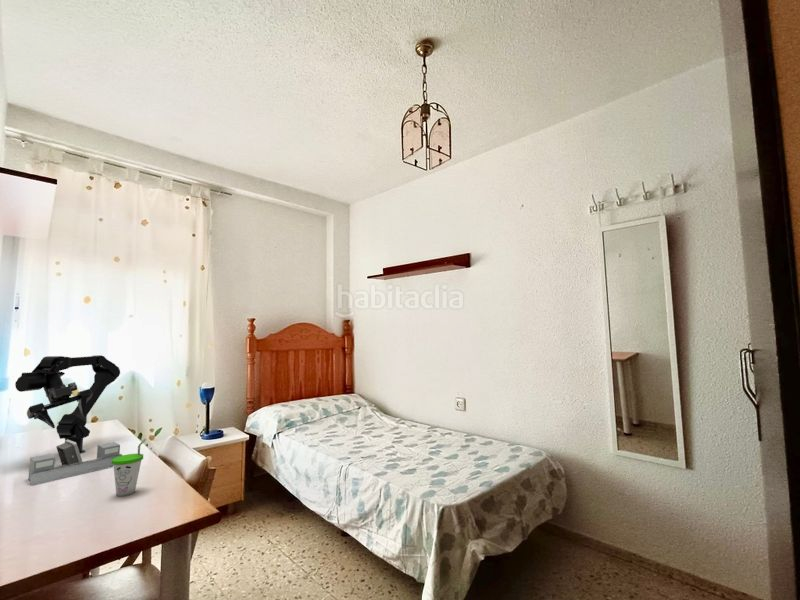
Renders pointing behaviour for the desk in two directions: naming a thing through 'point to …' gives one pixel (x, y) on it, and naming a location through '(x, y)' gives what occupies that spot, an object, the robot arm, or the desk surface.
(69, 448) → the electrical switch
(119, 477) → the cup
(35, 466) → the mounted modules
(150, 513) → the desk surface
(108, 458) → the rail
